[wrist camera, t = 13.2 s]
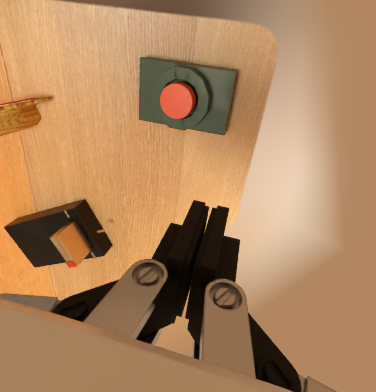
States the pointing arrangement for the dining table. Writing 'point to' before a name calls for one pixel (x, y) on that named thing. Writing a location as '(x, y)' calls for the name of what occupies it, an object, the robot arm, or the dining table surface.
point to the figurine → (19, 115)
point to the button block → (202, 86)
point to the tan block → (71, 243)
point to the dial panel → (48, 225)
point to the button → (177, 100)
